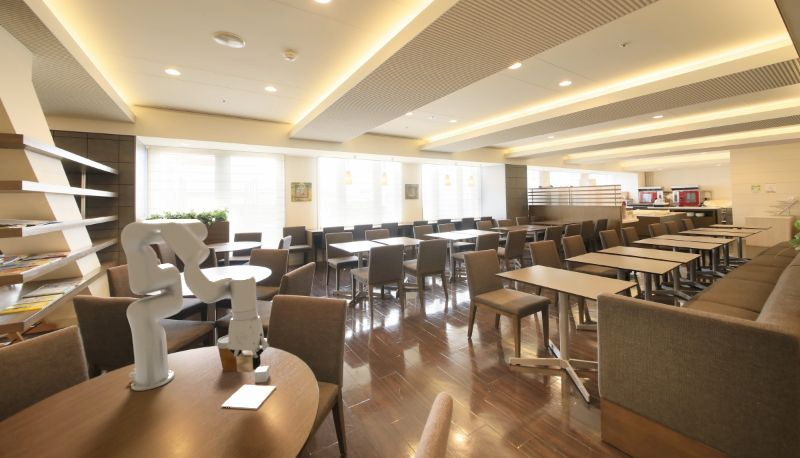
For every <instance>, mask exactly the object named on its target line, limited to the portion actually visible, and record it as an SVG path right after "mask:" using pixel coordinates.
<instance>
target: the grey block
mask: <svg viewBox="0 0 800 458" xmlns="http://www.w3.org/2000/svg"><path fill="white" fill-rule="evenodd" d="M253 372H254V383H255V382H257V383H265V382H267V381H268V380H269V378H270V366H269V365H265V366H261V365H260V366H259V367H258V368H257V369H256V370H254V371H253ZM267 383H268V382H267Z"/></svg>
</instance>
